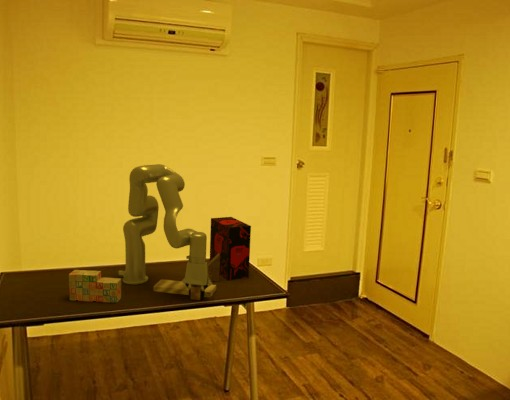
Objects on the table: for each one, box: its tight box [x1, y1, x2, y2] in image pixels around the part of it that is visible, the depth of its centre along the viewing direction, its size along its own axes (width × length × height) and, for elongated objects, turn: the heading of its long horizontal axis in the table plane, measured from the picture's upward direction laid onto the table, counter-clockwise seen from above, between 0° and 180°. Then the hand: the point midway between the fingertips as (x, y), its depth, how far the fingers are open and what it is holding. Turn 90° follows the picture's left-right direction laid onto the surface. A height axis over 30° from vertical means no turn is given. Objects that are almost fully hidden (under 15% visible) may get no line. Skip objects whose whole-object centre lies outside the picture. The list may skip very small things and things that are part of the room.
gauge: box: [190, 284, 201, 301], centre depth 209 cm, size 4×14×6 cm, turn 171°
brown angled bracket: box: [207, 253, 220, 283], centre depth 226 cm, size 4×11×18 cm, turn 103°
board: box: [153, 278, 217, 298], centre depth 213 cm, size 28×10×2 cm, turn 81°
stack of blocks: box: [68, 269, 122, 304], centre depth 198 cm, size 21×6×12 cm, turn 87°
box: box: [209, 216, 252, 281], centre depth 240 cm, size 23×12×28 cm, turn 29°
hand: (196, 296), depth 205 cm, fingers closed on gauge, 4 cm apart
